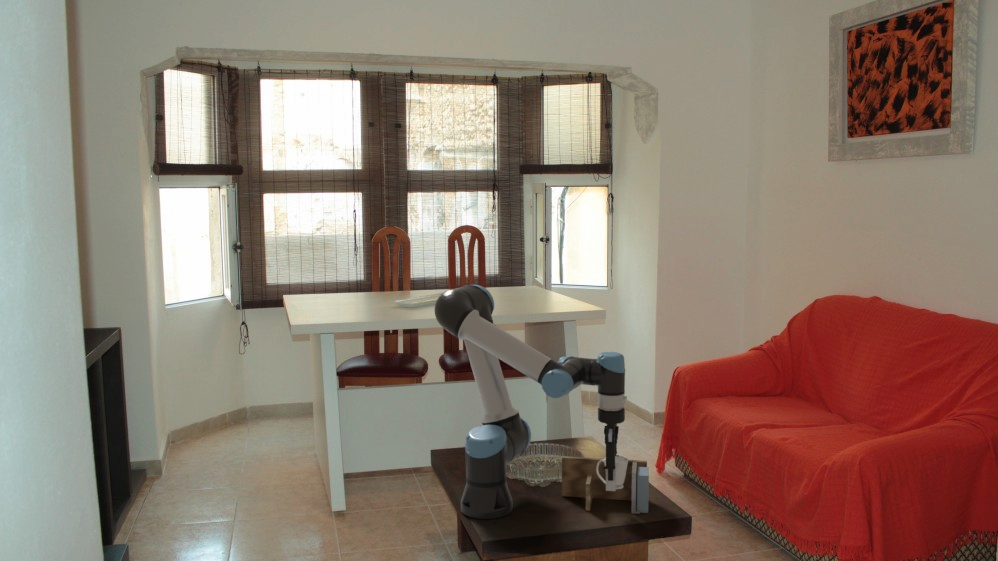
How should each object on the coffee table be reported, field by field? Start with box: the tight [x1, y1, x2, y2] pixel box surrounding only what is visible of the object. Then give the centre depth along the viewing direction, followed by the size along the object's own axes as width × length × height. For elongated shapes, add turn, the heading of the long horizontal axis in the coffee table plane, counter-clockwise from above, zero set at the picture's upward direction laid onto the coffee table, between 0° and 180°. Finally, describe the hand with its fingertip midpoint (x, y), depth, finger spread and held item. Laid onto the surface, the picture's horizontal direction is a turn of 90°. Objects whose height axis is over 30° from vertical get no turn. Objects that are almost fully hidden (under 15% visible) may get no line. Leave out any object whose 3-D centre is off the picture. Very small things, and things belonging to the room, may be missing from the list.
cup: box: [596, 455, 629, 489], centre depth 236 cm, size 7×10×8 cm
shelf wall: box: [561, 455, 648, 501], centre depth 246 cm, size 25×1×12 cm, turn 79°
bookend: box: [630, 462, 641, 515], centre depth 239 cm, size 2×9×12 cm, turn 169°
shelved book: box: [637, 466, 650, 514], centre depth 239 cm, size 3×7×11 cm, turn 169°
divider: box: [585, 474, 593, 511], centre depth 241 cm, size 1×8×8 cm, turn 169°
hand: (611, 485), depth 236 cm, fingers closed on cup, 6 cm apart
